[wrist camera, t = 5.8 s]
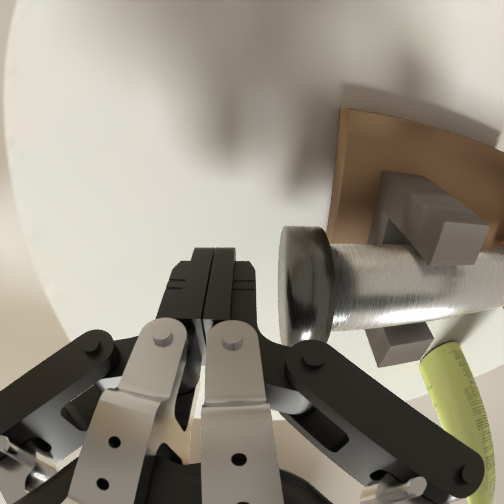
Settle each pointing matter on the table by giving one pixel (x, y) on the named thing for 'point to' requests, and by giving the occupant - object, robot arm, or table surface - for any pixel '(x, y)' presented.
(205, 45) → the table surface
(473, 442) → the tube
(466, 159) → the bearing board
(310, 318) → the shaft
